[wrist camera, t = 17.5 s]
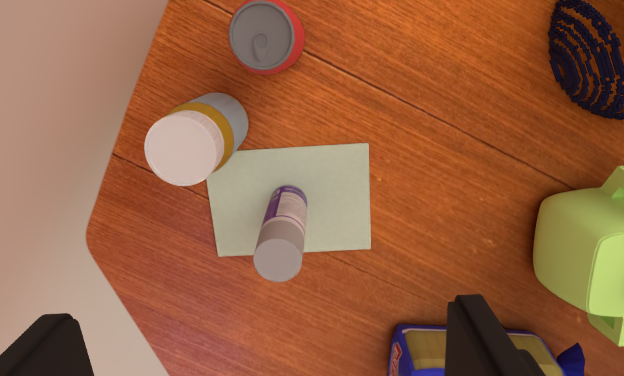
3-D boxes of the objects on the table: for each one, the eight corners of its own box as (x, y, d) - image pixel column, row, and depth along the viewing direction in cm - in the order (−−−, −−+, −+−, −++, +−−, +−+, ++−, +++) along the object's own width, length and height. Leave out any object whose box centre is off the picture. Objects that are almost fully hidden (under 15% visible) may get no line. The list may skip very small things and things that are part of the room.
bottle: (252, 149, 50) (226, 189, 36) (195, 151, 50) (146, 192, 36) (246, 89, 48) (216, 108, 34) (186, 93, 48) (131, 112, 34)
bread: (390, 314, 57) (404, 368, 48) (568, 324, 57) (620, 381, 48) (381, 373, 61) (394, 435, 51) (551, 383, 61) (595, 447, 51)
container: (278, 224, 53) (264, 289, 39) (264, 192, 51) (243, 247, 37) (313, 212, 52) (311, 273, 38) (299, 179, 51) (291, 230, 37)
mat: (218, 255, 55) (218, 256, 54) (202, 152, 50) (202, 153, 50) (370, 247, 54) (370, 249, 54) (368, 142, 50) (368, 143, 49)
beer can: (244, 66, 47) (220, 72, 36) (247, 3, 45) (223, -12, 34) (302, 72, 47) (296, 81, 36) (308, 10, 45) (304, -2, 34)
